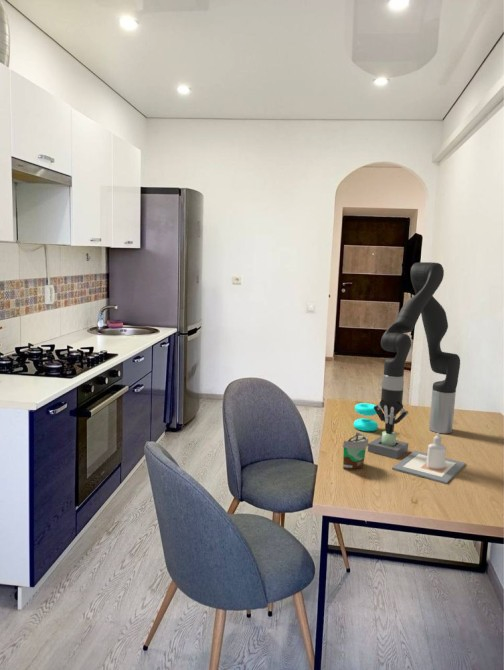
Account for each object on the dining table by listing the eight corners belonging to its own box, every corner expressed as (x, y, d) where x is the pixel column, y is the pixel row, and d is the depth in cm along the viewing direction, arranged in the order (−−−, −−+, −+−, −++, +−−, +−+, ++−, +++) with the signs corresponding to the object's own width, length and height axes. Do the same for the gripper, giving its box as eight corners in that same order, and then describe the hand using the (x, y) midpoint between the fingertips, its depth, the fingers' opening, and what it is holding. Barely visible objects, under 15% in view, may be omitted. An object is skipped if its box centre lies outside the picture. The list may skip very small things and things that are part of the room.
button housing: (379, 443, 202) (380, 436, 202) (407, 450, 196) (408, 443, 195) (367, 451, 193) (368, 443, 193) (396, 458, 187) (397, 450, 186)
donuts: (384, 407, 217) (364, 409, 213) (382, 431, 218) (362, 433, 214) (369, 401, 226) (350, 403, 222) (368, 424, 227) (348, 426, 223)
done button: (384, 445, 198) (385, 430, 197) (397, 448, 195) (398, 433, 194) (378, 449, 194) (380, 433, 193) (391, 452, 191) (393, 436, 190)
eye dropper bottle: (442, 471, 175) (445, 436, 173) (425, 467, 177) (428, 433, 176) (444, 467, 178) (447, 433, 177) (427, 463, 181) (430, 430, 179)
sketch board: (414, 452, 194) (414, 450, 194) (465, 464, 184) (465, 462, 184) (392, 469, 177) (392, 467, 177) (446, 483, 166) (446, 481, 166)
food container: (359, 474, 171) (361, 445, 170) (341, 470, 174) (343, 441, 173) (371, 463, 182) (373, 435, 180) (354, 459, 185) (356, 431, 183)
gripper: (414, 388, 190) (410, 434, 193) (379, 382, 198) (376, 427, 200) (406, 392, 184) (402, 439, 187) (371, 385, 192) (368, 431, 194)
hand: (389, 433), depth 193 cm, fingers closed
